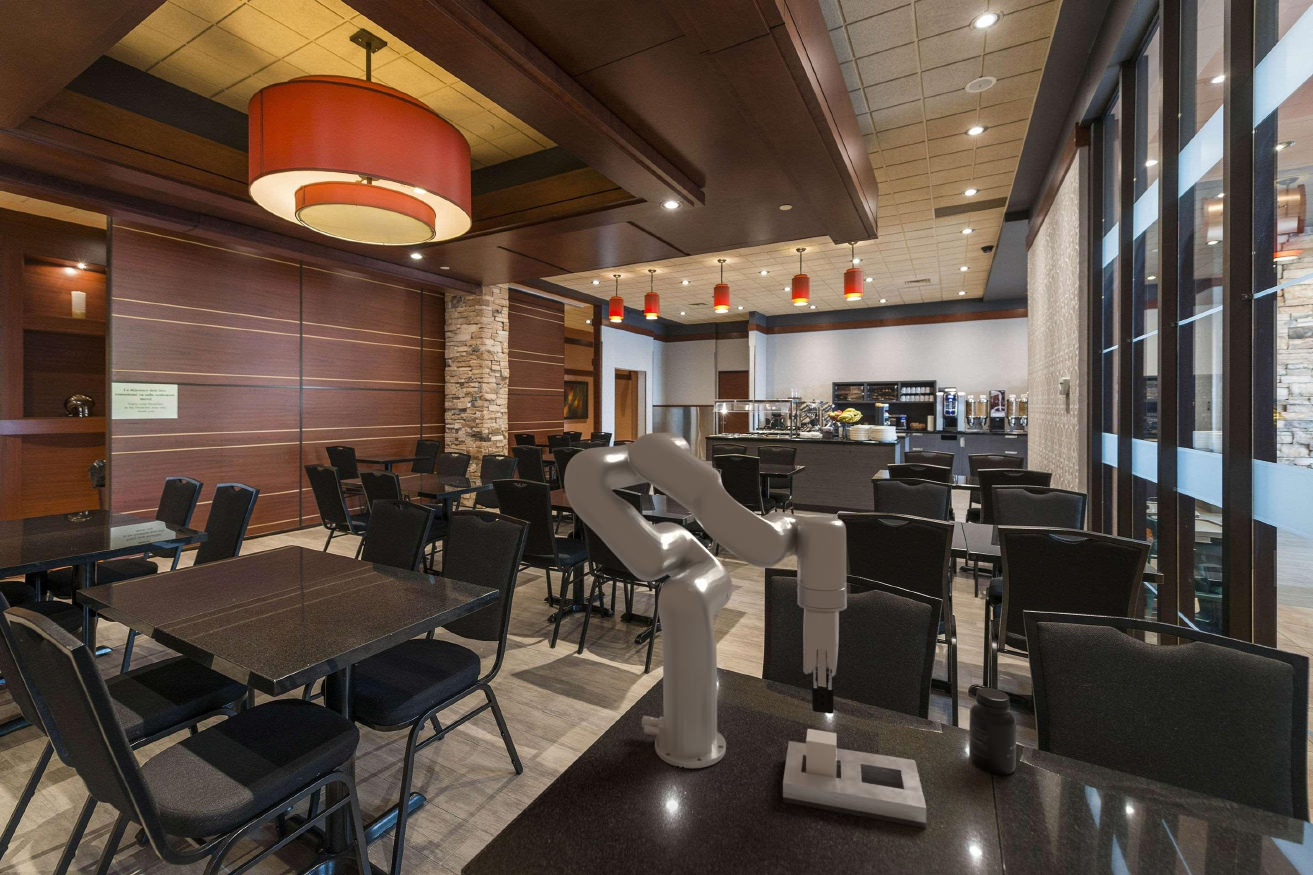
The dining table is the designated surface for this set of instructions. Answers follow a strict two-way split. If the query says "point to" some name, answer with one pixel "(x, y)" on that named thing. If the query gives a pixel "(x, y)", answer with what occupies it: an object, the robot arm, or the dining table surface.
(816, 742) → the plug
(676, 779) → the dining table surface
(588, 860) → the dining table surface
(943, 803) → the dining table surface
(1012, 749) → the supplement bottle
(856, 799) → the socket board
